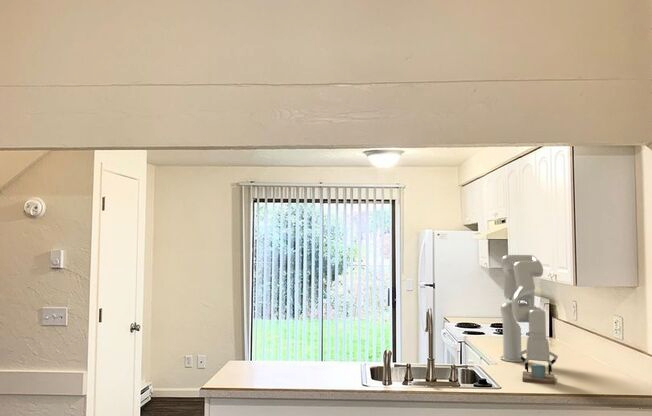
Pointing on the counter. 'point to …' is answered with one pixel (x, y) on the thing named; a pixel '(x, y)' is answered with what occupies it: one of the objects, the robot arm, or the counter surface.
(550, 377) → the brown flat square piece
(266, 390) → the counter surface
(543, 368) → the cap
